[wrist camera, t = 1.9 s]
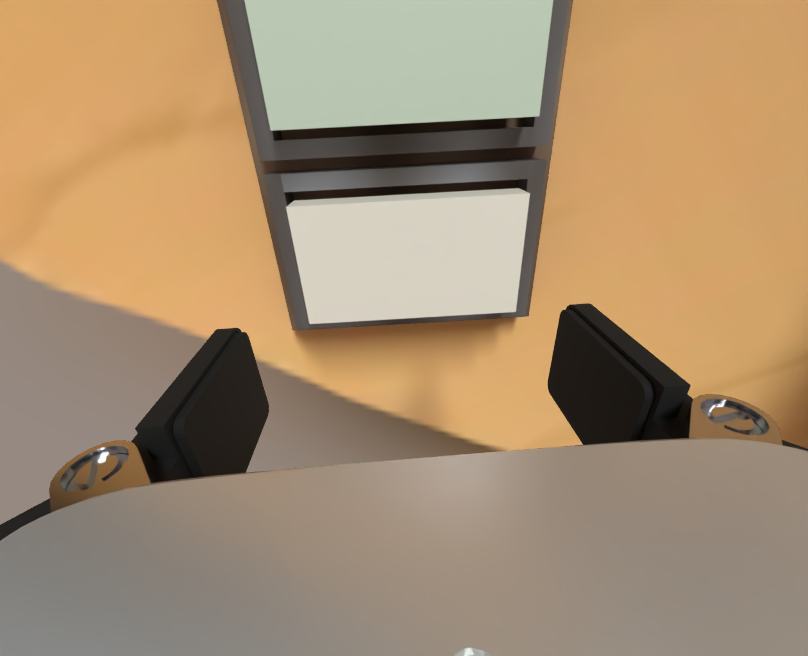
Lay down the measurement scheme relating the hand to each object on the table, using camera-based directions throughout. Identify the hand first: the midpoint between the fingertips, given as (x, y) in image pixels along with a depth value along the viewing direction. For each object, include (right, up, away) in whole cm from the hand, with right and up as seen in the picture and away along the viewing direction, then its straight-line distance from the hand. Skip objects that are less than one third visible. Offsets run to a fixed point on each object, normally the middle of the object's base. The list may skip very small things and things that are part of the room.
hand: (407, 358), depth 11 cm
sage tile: (0, +13, +4) cm, 13 cm away
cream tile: (0, +5, +8) cm, 9 cm away
